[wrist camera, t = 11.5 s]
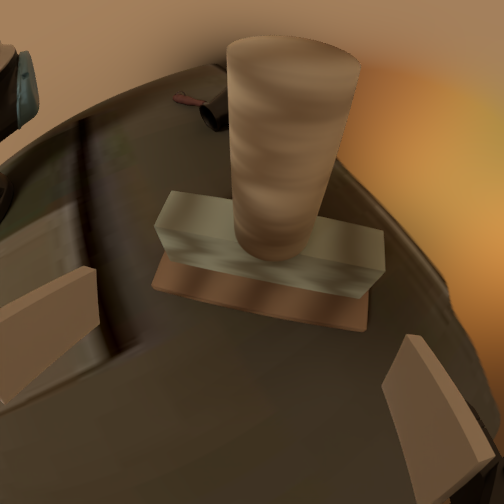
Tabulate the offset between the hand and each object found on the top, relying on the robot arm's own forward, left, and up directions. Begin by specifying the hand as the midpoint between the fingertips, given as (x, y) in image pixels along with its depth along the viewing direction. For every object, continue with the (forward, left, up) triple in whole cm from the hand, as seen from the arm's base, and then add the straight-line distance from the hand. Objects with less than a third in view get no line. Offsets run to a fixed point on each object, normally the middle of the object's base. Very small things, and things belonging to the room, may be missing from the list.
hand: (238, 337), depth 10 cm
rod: (-5, +9, -7) cm, 13 cm away
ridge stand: (-5, +9, -14) cm, 18 cm away
